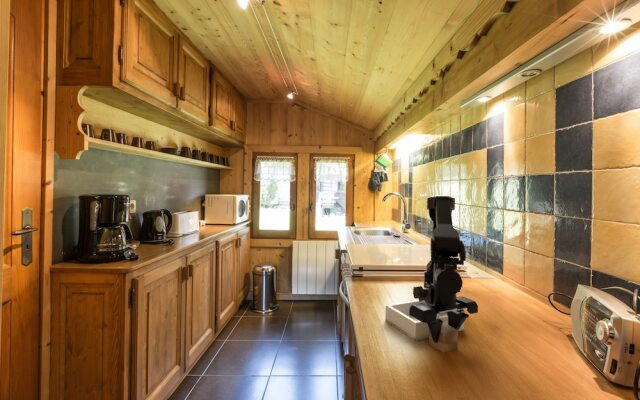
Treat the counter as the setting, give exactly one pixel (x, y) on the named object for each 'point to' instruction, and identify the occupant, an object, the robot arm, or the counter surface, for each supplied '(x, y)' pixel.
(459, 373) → the counter surface
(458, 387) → the counter surface
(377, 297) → the counter surface
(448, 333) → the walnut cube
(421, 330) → the tray
